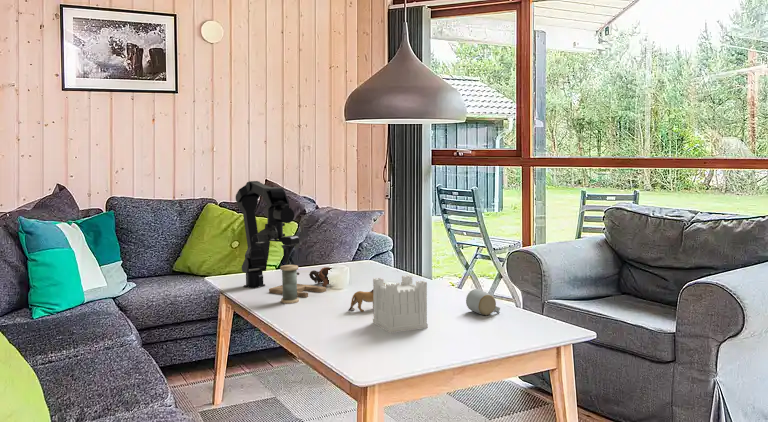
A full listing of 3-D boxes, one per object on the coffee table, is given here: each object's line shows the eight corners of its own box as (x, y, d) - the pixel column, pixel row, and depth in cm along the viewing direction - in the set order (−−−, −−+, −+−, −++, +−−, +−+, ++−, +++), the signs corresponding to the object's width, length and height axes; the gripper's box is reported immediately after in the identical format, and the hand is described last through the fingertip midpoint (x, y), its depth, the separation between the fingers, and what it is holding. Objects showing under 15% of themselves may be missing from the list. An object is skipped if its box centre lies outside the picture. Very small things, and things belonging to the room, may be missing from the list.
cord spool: (277, 302, 240) (276, 266, 239) (288, 298, 246) (288, 264, 245) (291, 304, 237) (290, 268, 236) (302, 300, 243) (301, 265, 241)
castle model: (372, 322, 211) (372, 278, 209) (414, 317, 217) (414, 274, 215) (389, 332, 199) (389, 285, 198) (433, 327, 205) (433, 281, 204)
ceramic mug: (479, 317, 216) (479, 294, 216) (465, 311, 224) (465, 289, 223) (505, 314, 221) (506, 291, 221) (491, 308, 228) (491, 287, 228)
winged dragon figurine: (337, 283, 277) (341, 268, 273) (333, 297, 269) (337, 282, 265) (309, 276, 276) (312, 261, 272) (305, 290, 268) (308, 274, 264)
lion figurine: (383, 306, 233) (383, 280, 233) (390, 309, 229) (390, 283, 228) (345, 310, 227) (344, 284, 226) (351, 314, 222) (351, 287, 221)
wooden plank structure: (269, 292, 257) (268, 276, 257) (290, 286, 268) (290, 270, 268) (305, 297, 248) (305, 280, 247) (326, 291, 259) (326, 274, 258)
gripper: (241, 221, 248) (242, 262, 249) (281, 224, 239) (281, 266, 240) (261, 218, 258) (262, 258, 259) (299, 221, 248) (300, 262, 250)
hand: (275, 261), depth 252 cm, fingers open, 9 cm apart
